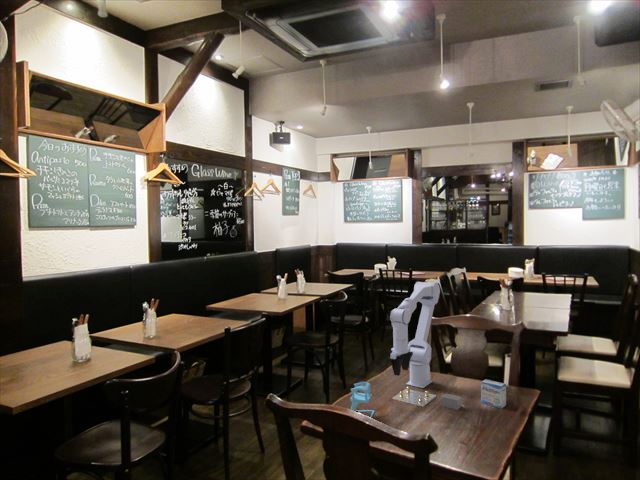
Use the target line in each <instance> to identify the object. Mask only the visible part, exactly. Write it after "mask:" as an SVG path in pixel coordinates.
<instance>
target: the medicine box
mask: <svg viewBox="0 0 640 480" xmlns="http://www.w3.org/2000/svg"><path fill="white" fill-rule="evenodd" d="M480 385H481V386H480V397H481V398H480V403H481V404H483V405H487V406H491V407H495V408H499V409H503V408H505V406H506V405H507V384H506V383H503V382H501V381H500V382H499V381H494V380H491V379H487V378H486V379H484V380H482V381H480Z"/></svg>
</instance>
